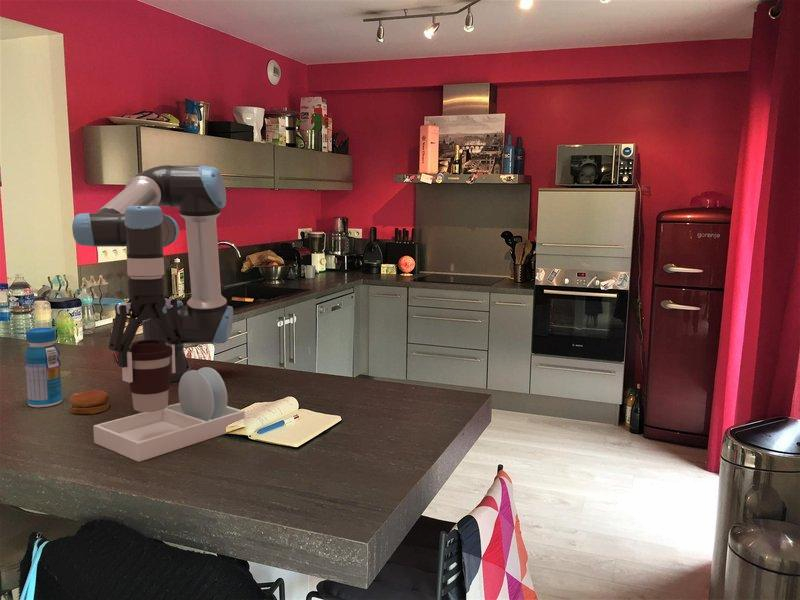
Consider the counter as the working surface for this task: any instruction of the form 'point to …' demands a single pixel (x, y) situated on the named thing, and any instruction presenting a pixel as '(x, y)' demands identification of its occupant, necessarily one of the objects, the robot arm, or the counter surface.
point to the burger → (89, 402)
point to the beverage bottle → (42, 368)
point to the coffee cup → (150, 375)
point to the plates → (203, 394)
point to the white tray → (160, 431)
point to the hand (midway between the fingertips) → (149, 376)
